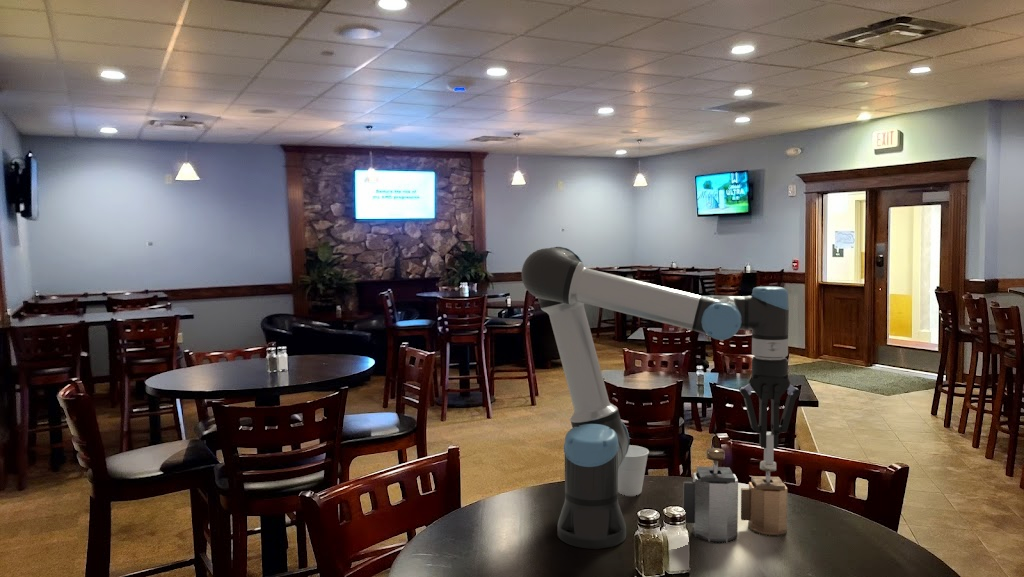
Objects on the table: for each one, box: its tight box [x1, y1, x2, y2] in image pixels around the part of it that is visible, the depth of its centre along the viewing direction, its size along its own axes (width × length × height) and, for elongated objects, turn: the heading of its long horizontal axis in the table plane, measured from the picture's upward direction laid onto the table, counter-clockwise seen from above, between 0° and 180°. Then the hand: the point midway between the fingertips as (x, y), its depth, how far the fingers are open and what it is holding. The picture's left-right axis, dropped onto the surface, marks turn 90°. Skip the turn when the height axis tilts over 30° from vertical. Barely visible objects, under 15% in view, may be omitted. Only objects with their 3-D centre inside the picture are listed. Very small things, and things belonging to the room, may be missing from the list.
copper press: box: [740, 475, 788, 538], centre depth 162 cm, size 10×8×11 cm
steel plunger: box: [706, 447, 726, 483], centre depth 159 cm, size 7×7×13 cm
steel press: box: [682, 466, 739, 544], centre depth 160 cm, size 12×10×14 cm
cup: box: [618, 444, 650, 497], centre depth 186 cm, size 10×10×11 cm
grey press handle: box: [759, 460, 777, 491], centre depth 162 cm, size 6×6×11 cm
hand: (768, 461), depth 161 cm, fingers closed
